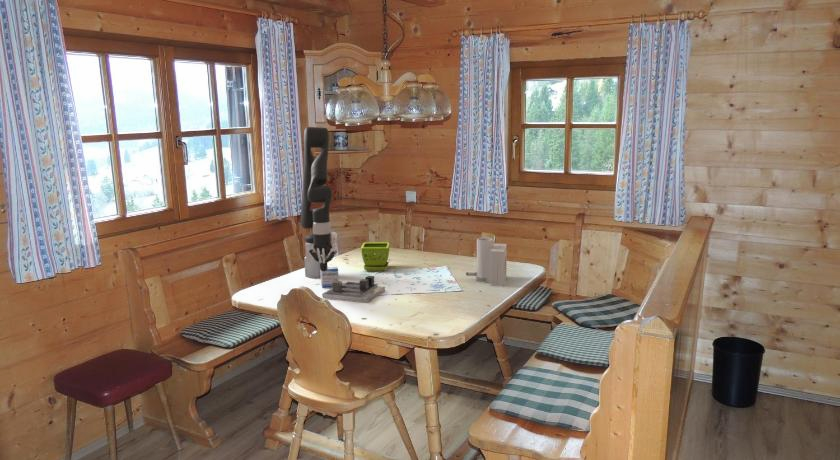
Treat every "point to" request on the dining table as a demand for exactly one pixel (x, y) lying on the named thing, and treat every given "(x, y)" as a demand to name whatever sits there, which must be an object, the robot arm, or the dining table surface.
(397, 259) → the dining table surface
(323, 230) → the robot arm
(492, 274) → the light grey tall pieces
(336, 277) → the medicine box
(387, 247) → the flower pot
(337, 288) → the breaker
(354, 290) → the grey peg board
